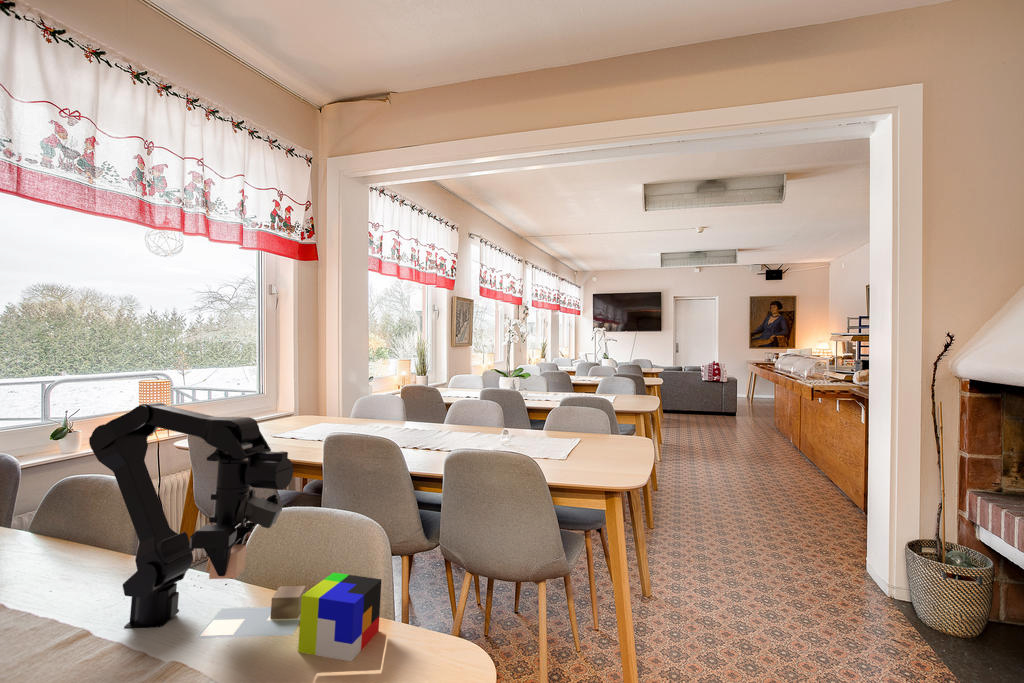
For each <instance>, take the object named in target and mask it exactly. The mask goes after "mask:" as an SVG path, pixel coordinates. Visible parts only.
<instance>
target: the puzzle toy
mask: <svg viewBox="0 0 1024 683" xmlns="http://www.w3.org/2000/svg"><path fill="white" fill-rule="evenodd" d="M381 596H382V579H381V578H374V577H367V576H360V575H353V574H347V573H339V572H332V573H331V574H330V575H328V576H327V577H325V578H324V579H322V580H321V581H320V582H318V583H317V584H316V585H315V586H313V587H311V588H310V589H309V590H307V591H305V593H304V594H303V595H302V598H301V614H300V622H299V629H298V630H299V633H298V646H297V652H298V653H303V654H307V655H308V654H309V655H312V656H318V657H319V656H320V657H324V658H329V659H330V658H331V659H335V660H341V661H346V662H352V661H353V660H354V659H355V658H356V656H358V654H359V653H360V652H361V651H363V649H364V648H365V646H367V644H368V643H370V641H371V640H372V639H373V638H374V637H375V635H376V634H377V633H378V632H379V630H380V614H381V613H380V610H381Z"/></svg>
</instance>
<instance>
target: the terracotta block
mask: <svg viewBox="0 0 1024 683" xmlns="http://www.w3.org/2000/svg"><path fill="white" fill-rule="evenodd" d="M247 545H248V544H243V545H233V547H232V550H231V554H230V559H229V563H228V568H227V571H226V575H225V576H218V574H217V572H216V570H215V568H214V566H213V564H212V562H211V560H210V559H209V560H210V562H209V572H208V573H209V575H208V579H209V580H220V579H221V580H224V579H225V580H229V579H237V578H238V577H239V576H240V575H241V573H242V572H243V571H244V570H246V562H247V560H246V559H247V558H246V557H247V548H248V547H247Z"/></svg>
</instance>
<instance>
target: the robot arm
mask: <svg viewBox="0 0 1024 683" xmlns="http://www.w3.org/2000/svg"><path fill="white" fill-rule="evenodd" d="M258 424H259V423H258V421H257V420H256V419H254V418H253V417H249V416H247V417H246V416H214V415H209V414H205V413H200V412H196V411H192V410H187V409H184V408H180V407H175V406H171V405H167V404H166V403H162V402H153V403H152V402H151V403H142V404H139V405H138V406H135V407H134V408H133V409H132V410H130V411H128V412H126V413H124V414H122V415H119V416H118V417H115V418H114V419H111V420H109V421H108V422H106V423H104V424H100V425H98V426H97V427H95V428H94V429H93V431H92V433H91V435H90V437H89V438H88V439H89V440H88V441H89V442H88V443H89V447H90V449H91V450H92V452H93V454H94V455H95V457H96V459H97V461H98V462H99V463H101V464H102V465H103V466H105V467H106V468H107V469H109V470H110V471H111V472H112V473H113V474H114V477H115V480H116V483H117V485H118V488H119V492H120V494H121V496H122V499H123V501H124V504H125V507H126V509H127V512H128V514H129V517H130V520H131V523H132V525H133V527H134V531H135V533H136V537H137V538H138V542H139V543H138V547H137V551H136V556H135V566H136V569H137V570H136V571H135V572H134V573H133V574H132V575H131V576H130V577H129V578H128V579H126V581H124V582H123V583H122V590H123V593H124V596H126V597H131V602H130V603H131V604H130V612H129V613H130V614H129V622H127V624H124V626H123V629H149V628H150V629H151V628H153V629H154V628H162V627H164V626H165V625H166V624H167V623H168V622H169V621H170V620H171V619H173V618H174V617H175V616H176V615H177V614H178V613H179V612H180V609H179V598H180V592H179V591H177V587H178V582H179V581H182V580H184V577H185V575H186V573H187V572H188V571H189V569H190V568H191V566H192V562H194V556H193V555H194V554H193V552H194V551H195V550H197V549H199V550H201V549H202V550H204V552H205V553H206V555H207V556H208V558H209V560H211V562H212V564H213V566H214V568H215V570H216V572H217V574H218V576H225V575H226V571H227V568H228V563H229V559H230V554H231V550H232V547H233V545H244V542H245V541H246V540H245V539H246V537H247V535H248V533H249V532H250V531H252V530H253V528H255V527H256V526H257V525H258V526H259V525H260V526H261V528H264V529H270V528H272V526H273V525H274V524H276V523H277V520H278V518H279V516H280V514H281V512H282V511H283V504H282V503H281V495H280V494H276V493H272V494H270V495H269V496H268V497H267V498H266V499H265V497H263V496H262V497H258V496H256V489H258V488H259V489H267V490H278V491H279V490H281V491H282V490H283V491H284V490H285V489H286V488H287V487H288V486H290V483H291V481H292V479H293V476H294V466H293V464H292V461H291V459H290V458H288V457H289V456H288V455H289V452H288V451H272V449H271V447H270V446H269V444H268V442H267V440H266V439H265V437H264V436H263V434H262V433H261V431H260V426H259V425H258ZM158 428H159V429H164V430H168V431H171V432H176V433H181V434H184V435H188V436H193V437H196V438H200V439H202V440H203V441H204V442H205V443H206V444H207V445H209V446H210V447H212V448H215V450H214V452H213V453H211V454H210V455H208V456H206V461H207V462H217V469H216V480H215V491H214V492H213V493H211V494H210V501H214V508H213V509H214V510H213V514H212V515H210V516H209V517H208V518H209V519H208V523H210V524H205V525H203V526H202V527H200V528H199V529H198V530H196V531H194V532H193V533H192V534H191V535H190V536H189V534H187V532H186V531H183V532H181V533H177V532H176V531H174V530H173V529H171V526H170V525H169V522H168V520H167V517H166V515H165V511H164V509H163V506H162V504H161V502H160V499H159V496H158V494H157V491H156V488H155V485H154V483H153V481H152V478H151V474H150V473H149V469H148V467H147V464H146V461H145V459H146V455H147V452H148V448H149V442H148V439H147V438H149V437H151V436H152V435H153V434H155V433H156V432H157V429H158ZM287 489H288V488H287ZM211 523H212V524H211ZM214 523H216V524H214Z"/></svg>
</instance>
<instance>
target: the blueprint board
mask: <svg viewBox="0 0 1024 683" xmlns="http://www.w3.org/2000/svg"><path fill="white" fill-rule="evenodd" d="M300 614H301V613H300ZM270 617H271V606H259V607H258V606H257V607H254V606H253V607H222V608H221V609H219V611H218V612H217V613H216V614H215V615H214V616H213V618H212V619H211V620H210V621H209V622H208V623H207V624H206V625H205V627H203V629H202V630H200V632H199V633H198V635H196V637H195V639H216V638H217V639H218V638H219V639H223V638H243V637H245V638H246V637H248V638H249V637H252V638H253V637H276V636H277V637H279V636H280V637H281V636H282V637H283V636H293V635H294V634H295V631H296V630H297V628H298V625H300V615H299V617H298V618H294V619H270Z"/></svg>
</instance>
